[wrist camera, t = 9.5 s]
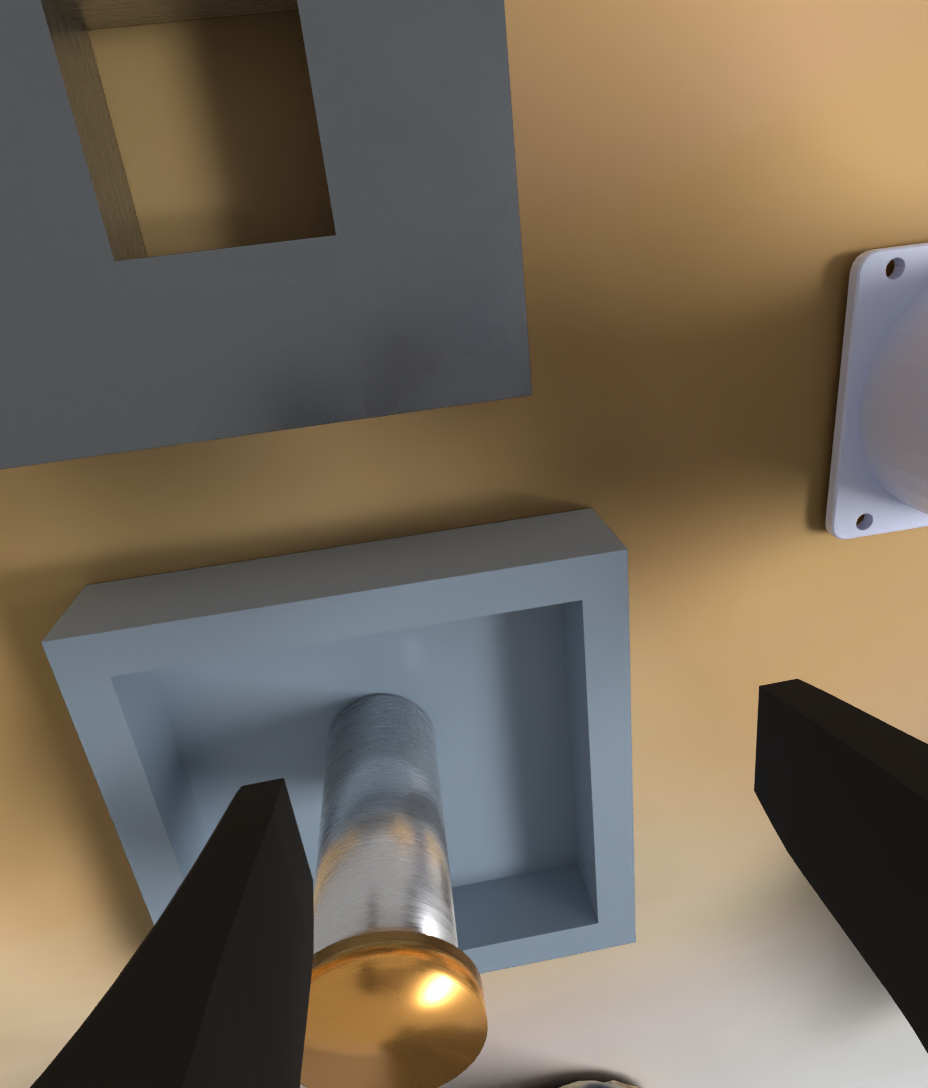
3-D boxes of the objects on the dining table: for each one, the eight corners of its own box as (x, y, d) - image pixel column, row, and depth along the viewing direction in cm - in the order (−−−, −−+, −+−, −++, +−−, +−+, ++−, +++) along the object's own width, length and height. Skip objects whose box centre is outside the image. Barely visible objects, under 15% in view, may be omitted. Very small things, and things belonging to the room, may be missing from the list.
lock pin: (438, 673, 21) (474, 952, 13) (456, 776, 23) (498, 1080, 15) (301, 696, 21) (254, 993, 13) (329, 799, 23) (303, 1118, 15)
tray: (592, 508, 21) (627, 549, 18) (606, 868, 26) (635, 942, 23) (85, 585, 20) (40, 641, 17) (214, 944, 25) (196, 1031, 22)
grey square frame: (459, -245, 14) (480, -340, 12) (510, 376, 19) (532, 395, 17) (-196, -202, 13) (-313, -295, 11) (34, 441, 18) (-14, 471, 16)
